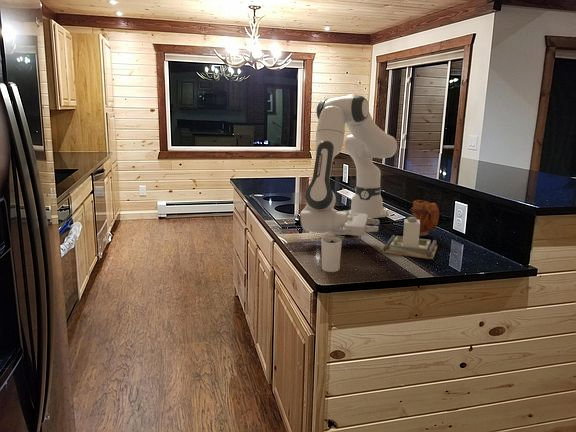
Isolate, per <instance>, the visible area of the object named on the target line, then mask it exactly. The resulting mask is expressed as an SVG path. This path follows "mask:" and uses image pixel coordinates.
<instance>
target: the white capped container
mask: <svg viewBox="0 0 576 432" xmlns="http://www.w3.org/2000/svg"><path fill="white" fill-rule="evenodd" d="M419 232H420V220H417V218H416V217H412V216H408V217H407V218H404V221H403V235H402V237H403V246H407V247H415V248H418V245H419V239H420V236H419Z"/></svg>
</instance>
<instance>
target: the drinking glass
mask: <svg viewBox="0 0 576 432" xmlns="http://www.w3.org/2000/svg"><path fill="white" fill-rule="evenodd" d="M342 241H343V240H342V239H341V237H335V236H325V237H322V238H321V245H320V246H321V270H323V271H324V272H327V273H328V272H329V273H335V272H338V271H340V268H341V267H340V265H341V255H342V254H341V252H342V244H343V242H342Z"/></svg>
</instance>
